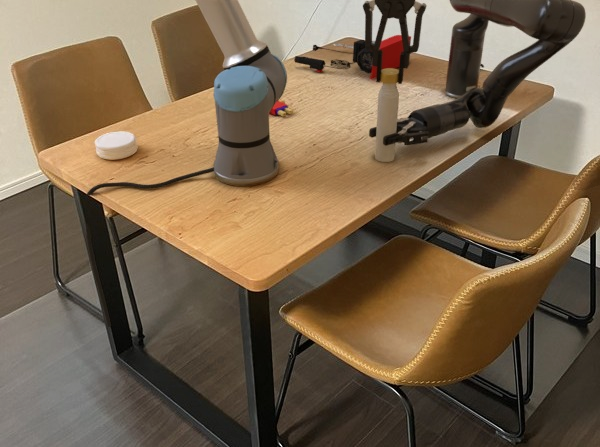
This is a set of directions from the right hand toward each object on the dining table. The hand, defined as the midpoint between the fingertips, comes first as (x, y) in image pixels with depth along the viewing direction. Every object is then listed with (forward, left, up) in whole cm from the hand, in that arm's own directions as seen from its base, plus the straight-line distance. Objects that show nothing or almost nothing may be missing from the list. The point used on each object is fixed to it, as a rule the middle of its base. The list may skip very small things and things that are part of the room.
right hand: (377, 137), depth 146 cm
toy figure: (-13, -39, -6) cm, 42 cm away
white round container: (+30, -57, -6) cm, 65 cm away
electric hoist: (-60, -40, -6) cm, 73 cm away
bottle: (-3, +1, -6) cm, 7 cm away
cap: (-2, +1, +15) cm, 15 cm away
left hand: (-2, +1, +13) cm, 14 cm away
